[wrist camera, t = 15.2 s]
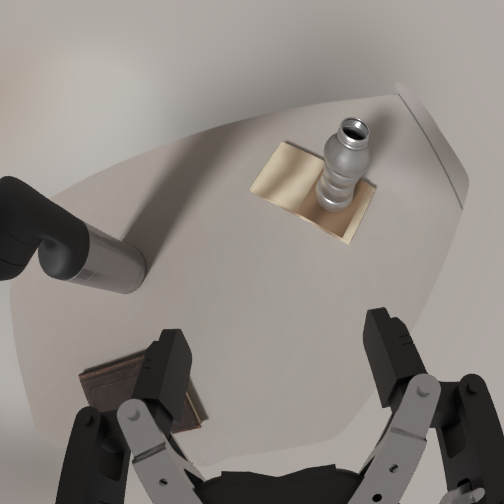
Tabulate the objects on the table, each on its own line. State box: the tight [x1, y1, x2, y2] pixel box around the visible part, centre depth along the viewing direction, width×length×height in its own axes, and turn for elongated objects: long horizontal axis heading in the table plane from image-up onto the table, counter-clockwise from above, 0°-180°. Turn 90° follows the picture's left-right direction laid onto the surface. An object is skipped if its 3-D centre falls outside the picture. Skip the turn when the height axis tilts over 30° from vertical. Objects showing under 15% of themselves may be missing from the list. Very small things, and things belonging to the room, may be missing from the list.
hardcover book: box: [79, 352, 202, 434], centre depth 44 cm, size 16×23×2 cm
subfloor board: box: [250, 142, 376, 244], centre depth 49 cm, size 20×12×1 cm, turn 58°
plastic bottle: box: [316, 117, 371, 212], centre depth 38 cm, size 6×7×20 cm
